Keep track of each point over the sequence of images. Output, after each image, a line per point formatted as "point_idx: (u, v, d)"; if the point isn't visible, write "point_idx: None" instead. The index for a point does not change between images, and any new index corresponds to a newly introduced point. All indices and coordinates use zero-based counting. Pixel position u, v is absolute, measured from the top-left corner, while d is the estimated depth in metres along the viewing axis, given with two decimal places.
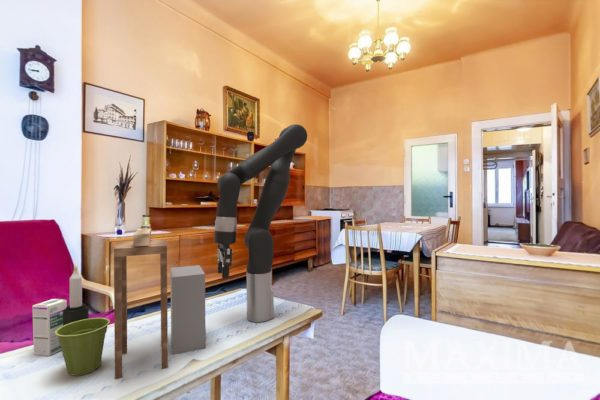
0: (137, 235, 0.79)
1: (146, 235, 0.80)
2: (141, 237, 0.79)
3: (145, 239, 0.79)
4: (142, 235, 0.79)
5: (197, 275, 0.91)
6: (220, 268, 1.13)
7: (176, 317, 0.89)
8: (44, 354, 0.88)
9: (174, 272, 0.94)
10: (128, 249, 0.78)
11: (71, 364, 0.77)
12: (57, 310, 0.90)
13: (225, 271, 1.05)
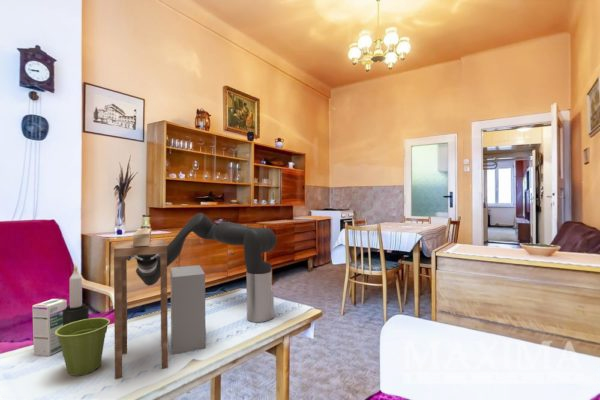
0: (137, 235, 0.79)
1: (146, 235, 0.80)
2: (141, 237, 0.79)
3: (145, 239, 0.79)
4: (142, 235, 0.79)
5: (197, 275, 0.91)
6: None
7: (176, 317, 0.89)
8: (44, 354, 0.88)
9: (174, 272, 0.94)
10: (128, 249, 0.78)
11: (71, 364, 0.77)
12: (57, 310, 0.91)
13: None
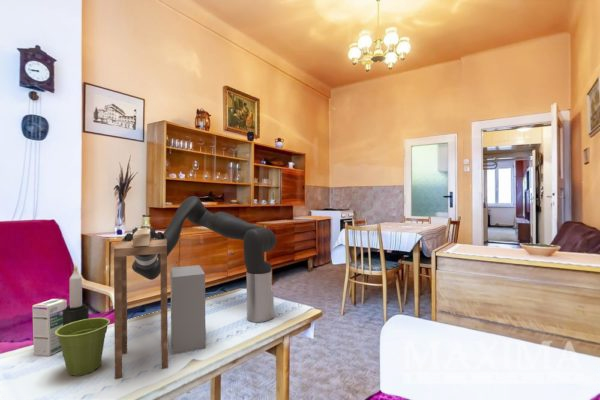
0: (137, 235, 0.79)
1: (146, 235, 0.79)
2: (141, 237, 0.79)
3: (145, 239, 0.79)
4: (142, 235, 0.79)
5: (197, 275, 0.91)
6: None
7: (176, 317, 0.89)
8: (44, 354, 0.88)
9: (174, 272, 0.94)
10: (128, 249, 0.78)
11: (71, 364, 0.77)
12: (57, 310, 0.91)
13: None
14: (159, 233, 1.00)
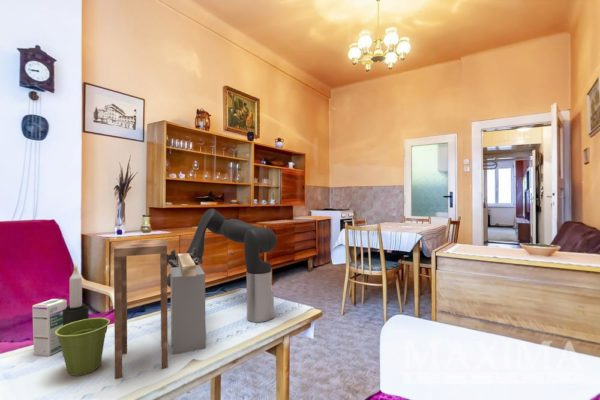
0: (186, 267, 0.89)
1: (193, 266, 0.90)
2: (189, 268, 0.89)
3: (193, 270, 0.89)
4: (190, 267, 0.89)
5: (197, 275, 0.91)
6: (193, 253, 1.07)
7: (176, 317, 0.89)
8: (44, 354, 0.88)
9: (174, 272, 0.94)
10: (128, 249, 0.78)
11: (71, 364, 0.77)
12: (57, 310, 0.91)
13: (170, 256, 1.04)
14: (200, 253, 1.10)
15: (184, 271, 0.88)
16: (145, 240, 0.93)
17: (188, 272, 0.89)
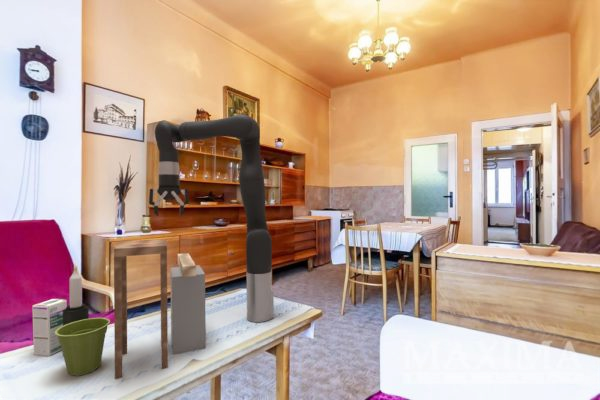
0: (186, 267, 0.89)
1: (193, 266, 0.90)
2: (189, 268, 0.89)
3: (193, 270, 0.89)
4: (190, 267, 0.89)
5: (197, 275, 0.91)
6: (180, 210, 1.23)
7: (176, 317, 0.89)
8: (44, 354, 0.88)
9: (174, 272, 0.94)
10: (128, 249, 0.78)
11: (71, 364, 0.77)
12: (57, 310, 0.90)
13: (154, 209, 1.19)
14: (187, 203, 1.24)
15: (184, 271, 0.88)
16: (145, 240, 0.93)
17: (188, 272, 0.89)
